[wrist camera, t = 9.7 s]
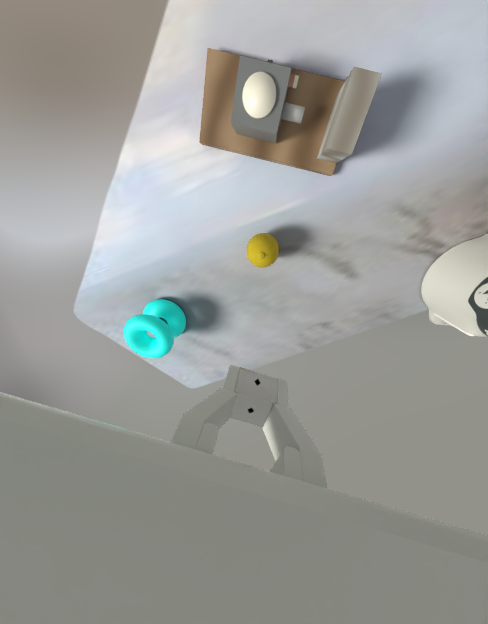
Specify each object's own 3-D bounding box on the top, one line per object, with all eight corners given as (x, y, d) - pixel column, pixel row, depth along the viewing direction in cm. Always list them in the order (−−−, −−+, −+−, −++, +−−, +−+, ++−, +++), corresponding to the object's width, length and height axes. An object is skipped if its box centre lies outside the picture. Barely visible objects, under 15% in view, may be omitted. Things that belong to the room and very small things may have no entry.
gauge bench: (359, 90, 29) (389, 52, 21) (329, 175, 34) (346, 168, 26) (210, 54, 29) (189, 4, 22) (202, 144, 34) (182, 128, 26)
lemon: (252, 227, 39) (247, 233, 32) (281, 234, 39) (283, 241, 32) (246, 257, 41) (241, 269, 34) (274, 263, 41) (274, 276, 34)
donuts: (180, 348, 41) (146, 367, 45) (196, 322, 50) (167, 340, 54) (143, 309, 38) (110, 333, 42) (167, 289, 47) (138, 310, 50)
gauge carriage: (313, 74, 27) (321, 48, 23) (293, 147, 31) (297, 138, 26) (248, 58, 27) (242, 29, 23) (236, 133, 31) (230, 122, 26)
